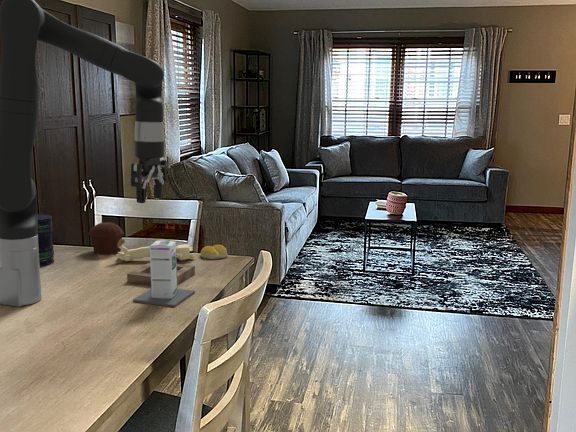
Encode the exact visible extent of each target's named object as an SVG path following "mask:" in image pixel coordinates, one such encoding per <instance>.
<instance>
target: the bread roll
mask: <svg viewBox="0 0 576 432" xmlns="http://www.w3.org/2000/svg"><path fill="white" fill-rule="evenodd" d="M227 250H228V249H227V248H226V247H225V246H224V245H222V244H214V245H213V246H212V245H207V246H206V245H205V246H204V247H203V248H202V249H201V251H200V256H201V258H203V259H206V258H207V259H208V260H217V259H225V258H226V257H228V251H227Z"/></svg>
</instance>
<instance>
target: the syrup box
mask: <svg viewBox="0 0 576 432" xmlns="http://www.w3.org/2000/svg"><path fill="white" fill-rule="evenodd" d="M149 246H150V257H149V260H150V261H149V263H150V269H151V285H150V289H151V294H152V298H163V299H172V298H173V297H174V296H175V294H176V293H177V291H178V289H179V288H178V285H177V264H178V262H177V259H178V256H176V246H177V241H175V240H167V239H163V240H155V241H154V242H153V243H151V245H149Z"/></svg>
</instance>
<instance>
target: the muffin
mask: <svg viewBox="0 0 576 432" xmlns="http://www.w3.org/2000/svg"><path fill="white" fill-rule="evenodd" d="M88 235H89V236H90V238H91V241H92V242H91V243H92V247H93V253H94V254H96V255H99V256H102V255H104V256H111V255H116V254H117V255H118V252H121V253H122V251H121V250H122V249H120V248H119V247H118V246H117V244H118V242H119V241H120V240H121V239H123V235H125V232H124V231H123V229H122V228H121V227H120V226H119V225H118V224H116V223H115V222H110V221H108V222H107V221H106V222H105V221H103V222H99V223H97V224H96V225H94V226H92V227H91V229H89V232H88Z"/></svg>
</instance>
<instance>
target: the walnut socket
mask: <svg viewBox="0 0 576 432" xmlns="http://www.w3.org/2000/svg"><path fill="white" fill-rule="evenodd" d="M195 274H196V266H195V265H190V264H181V263H177V286H178V285H179V284H182V283H183V282H184V281H186V280H187V279H189V278H191V277H192V276H193V275H195ZM126 279H127V281H126V282H127V283H131V284H137V285H138V284H139V285H147V286H151V269H150V262H148V263H146V264H144V265H142V266H140V267H138V268H136V269H134V270H132V271H130V272H128V273H126Z"/></svg>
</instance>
